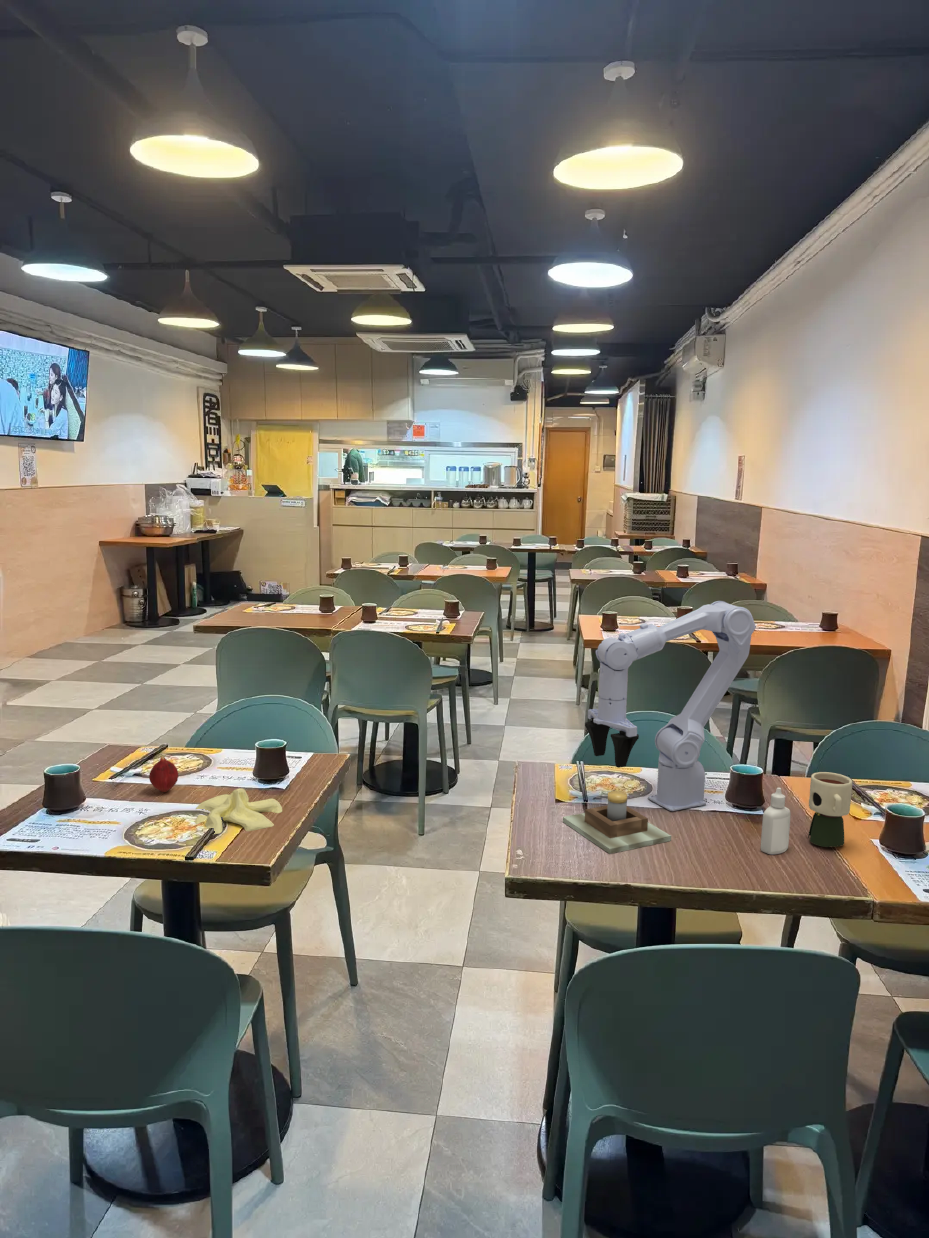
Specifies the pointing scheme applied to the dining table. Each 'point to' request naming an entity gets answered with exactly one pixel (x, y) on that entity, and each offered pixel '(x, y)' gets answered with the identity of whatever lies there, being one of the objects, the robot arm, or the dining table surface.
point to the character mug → (829, 808)
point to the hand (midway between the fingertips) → (609, 760)
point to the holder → (616, 830)
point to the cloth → (237, 811)
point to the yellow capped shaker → (616, 805)
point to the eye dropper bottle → (775, 825)
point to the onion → (163, 775)
